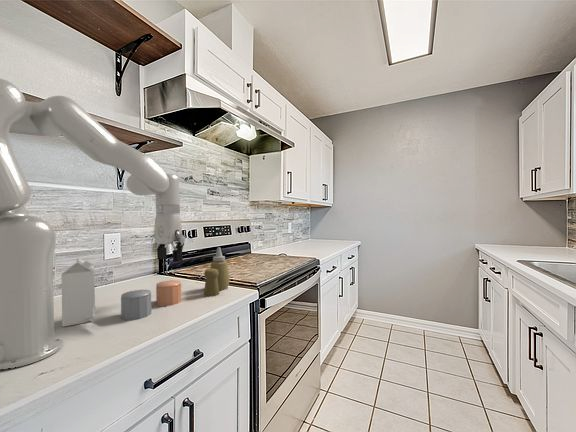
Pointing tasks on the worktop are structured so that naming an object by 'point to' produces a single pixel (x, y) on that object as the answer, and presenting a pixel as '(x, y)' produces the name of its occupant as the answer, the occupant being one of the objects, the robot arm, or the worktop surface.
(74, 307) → the milk carton
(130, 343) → the worktop surface
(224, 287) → the squeeze bottle
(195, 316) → the worktop surface
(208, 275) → the olive pepper shaker
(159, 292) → the terracotta cup
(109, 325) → the worktop surface
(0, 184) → the robot arm
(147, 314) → the grey faceted cylinder
